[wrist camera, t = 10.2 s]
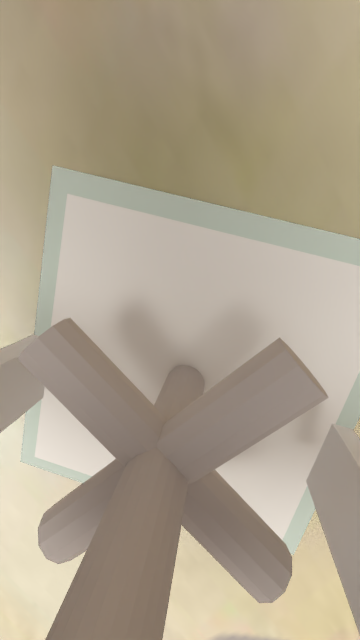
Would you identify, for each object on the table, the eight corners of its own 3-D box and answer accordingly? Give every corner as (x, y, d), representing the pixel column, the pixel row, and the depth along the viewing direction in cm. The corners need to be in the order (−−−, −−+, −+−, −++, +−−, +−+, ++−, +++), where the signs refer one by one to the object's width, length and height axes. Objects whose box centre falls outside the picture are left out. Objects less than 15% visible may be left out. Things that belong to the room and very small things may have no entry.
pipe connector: (345, 400, 12) (741, 922, 3) (180, 502, 15) (100, 933, 6) (192, 225, 12) (26, 131, 2) (47, 367, 14) (-305, 606, 5)
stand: (85, 181, 15) (48, 163, 12) (392, 255, 14) (442, 257, 11) (50, 430, 19) (16, 465, 16) (282, 506, 18) (294, 560, 15)
